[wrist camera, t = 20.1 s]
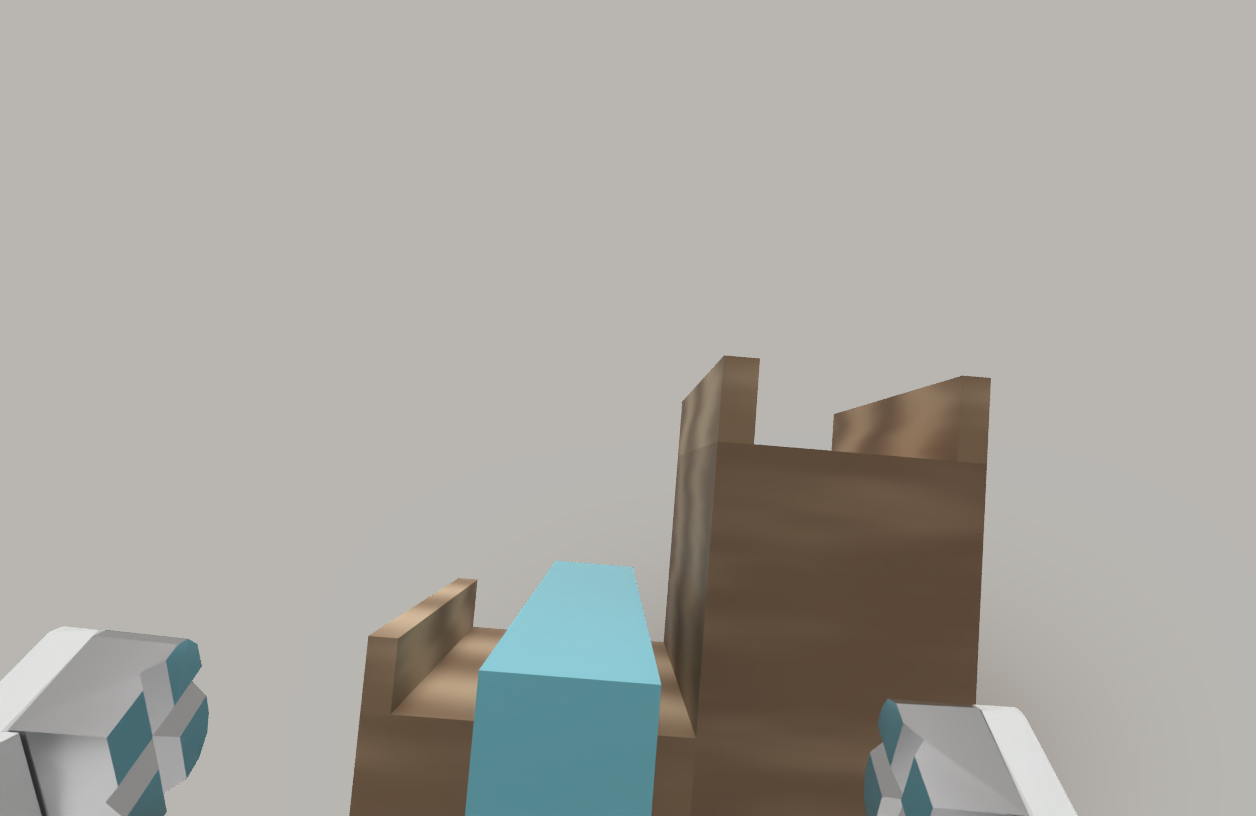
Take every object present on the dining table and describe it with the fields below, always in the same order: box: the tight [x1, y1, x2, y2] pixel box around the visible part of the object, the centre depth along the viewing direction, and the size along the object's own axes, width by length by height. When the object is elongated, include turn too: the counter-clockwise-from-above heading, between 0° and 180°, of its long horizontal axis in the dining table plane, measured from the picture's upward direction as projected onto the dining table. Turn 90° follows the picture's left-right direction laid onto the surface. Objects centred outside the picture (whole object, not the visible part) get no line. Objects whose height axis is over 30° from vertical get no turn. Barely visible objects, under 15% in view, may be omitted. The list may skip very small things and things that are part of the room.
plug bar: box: [465, 561, 661, 816], centre depth 26 cm, size 21×3×3 cm, turn 1°
